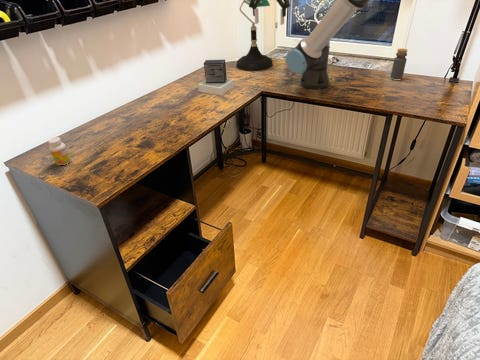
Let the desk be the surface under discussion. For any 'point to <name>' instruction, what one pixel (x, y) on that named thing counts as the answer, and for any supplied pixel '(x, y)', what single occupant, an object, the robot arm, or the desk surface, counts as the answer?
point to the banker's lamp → (254, 49)
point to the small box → (215, 71)
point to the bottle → (399, 64)
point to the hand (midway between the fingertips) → (269, 23)
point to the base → (217, 87)
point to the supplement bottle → (59, 151)
